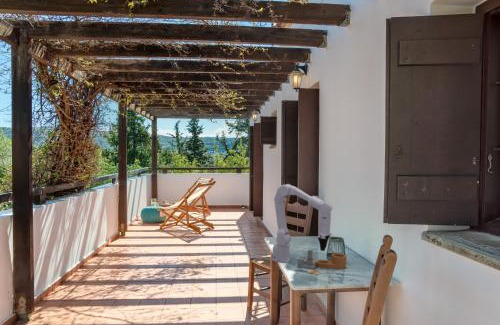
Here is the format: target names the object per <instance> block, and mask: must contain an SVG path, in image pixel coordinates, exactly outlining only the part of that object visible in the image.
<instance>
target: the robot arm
mask: <svg viewBox="0 0 500 325" xmlns="http://www.w3.org/2000/svg"><path fill="white" fill-rule="evenodd" d="M289 196H296V197H299V198H301V199H303V200H305V201H306V202H307V203H308V205H309V206H311V207H312V208H314V209H316V210H318V211H320V216H319V218H320V219H319V232H318V235H319V236H318V237H317V240H318V242H319V248H320V251H321V252H322V251H323V252H325V250H326V249H327V246H328V242H329V239H330V237H331V236H332V235H333V234H332V232H330V231H331V223H332V222H331V220H332V217H331V216H332V210H333V206H332V204H330V203H329V202H326V200H322V199H320V198H319V196H318V195H312V196H311V195H309V194H307V193H306V192H304V190H301V189H300V188H298V187H297V186H294V185H291V184H290V183H287V184H281V185H280V186H279V187H278V188H277V189H276V193H275V196H274V199H273V201H274V208H275V216H276V224H277V231H276V232H277V233H276V239H275V241H276V243H277V244H273V247H272V258H271V261H272V262H273V261H274V262H279V263H280V262H281V263H289V262H290V261H291V258H290V249H291V248H290V246H291V245H290V244H291V241H292V236H291V234H290V232H289V229H288V226H287V218H286V211H285V203H284V201H285V200H286V199H287V197H289Z"/></svg>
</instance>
